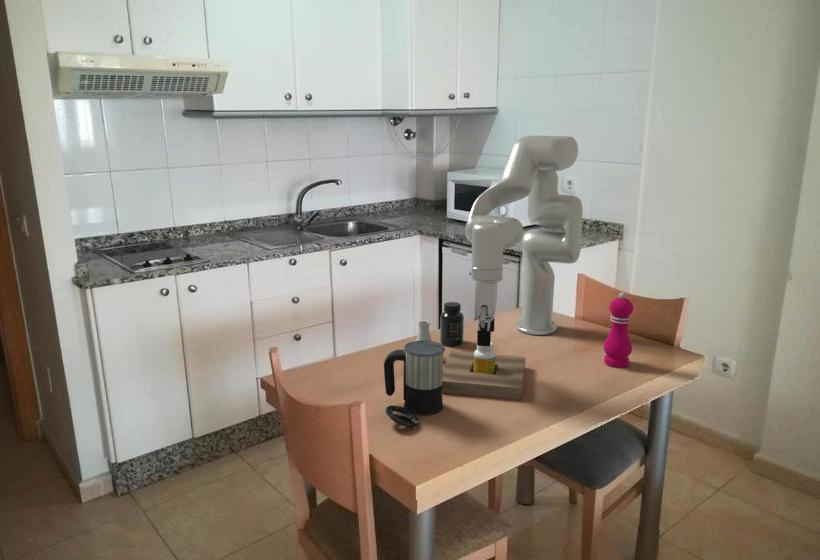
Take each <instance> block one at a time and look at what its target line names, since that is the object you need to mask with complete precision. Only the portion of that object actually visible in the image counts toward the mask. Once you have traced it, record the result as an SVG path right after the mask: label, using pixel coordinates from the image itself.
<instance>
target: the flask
mask: <svg viewBox="0 0 820 560" xmlns="http://www.w3.org/2000/svg"><path fill="white" fill-rule="evenodd" d="M430 324H431V322H430V321H428V320H421V321H418V322H417V325H418V332H417V337H416V340H415V341H420V340H421V341H423V340H425V341H433V340H432V337H431V334H430Z"/></svg>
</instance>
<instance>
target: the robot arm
mask: <svg viewBox="0 0 820 560" xmlns="http://www.w3.org/2000/svg"><path fill="white" fill-rule="evenodd" d="M578 147H579V146H578V142H577V140H576V139H575V138H574V137H573V136H569V135H568V136H567V135H525V136H522V137H520V138H519V139H518V140H516V141H515V142H514V143H513V145H512V147H511V149H510V151H509V154H508V157H507V160H506V163H505V166H504V168H503V171H502V173H501V176H500V178H499V180H498V181H496V183H494V184H492V185H491V186H490V187H488V188H487V189H486V190H484V191H483V192H482V193H481V194H479V195H478V197H477V198H476V199H475V201H474V202H473V204H472V206H471V209H470V212H469V214H468V216H467V220H466V223H465V228H464V229H465V236H466V239H467V240H468V242H470V243H471V280H472V281H474V291H473V292H474V293H473V295H474V296H473V317H472V318H473V321H475V322H476V321H478V322H477V323H478V324H477V326H478V327H477V330H476V331H477V332H476V333H477V334H476V335H477V336H476V337H477V338H476V339H477V340H476V341H477V342H476V346H477V345H478V346H490V344H491V342H492V341H491V339H492V338H491V336H492V335H491V334H492V333H494V331H495V316H496V315H495V314H496V311H497V302H498V283H499V282H501V281H503V272H504V271H503V270H504V265H503V263H504V262H503V260H504V250H505V249H509V248H514V247H516V246H517V245H518V244H519V243H520V242H521V253H522V263H523V264H522V265H523V266H522V267H523V269H522V274H523V275H522V291H521V293H522V294H521V296H522V297H521V314H520V316H521V319H520V320H519V321H517V322H516V323H515V328H516V330H517V331H519V332H521V333H523V334H528V335H532V336H533V335H534V336H544V335H545V336H547V335H550V334H554V333H555V332H556V331H557V329H558V328H557V327H558V326H557V324H556V323H554V322H553V313H554V312H553V311H554V310H553V309H554V296H555V295H554V293H555V281H556V279H555V278H556V277H555V272H554V270H553V268H552V266H551V264H550V263H558V264H569V265H571V264H574V263H576V262H577V261H578V260H579V258H580V255H581V248H582V234H583V233H582V231H583V217H584V216H583V215H584V213H583V212H584V211H583V209H584V208H583V203H582V200H581V199H580V198H579V197H578V196H576V195H573V194H559V190H558V189H559V187H558V186H559V178H558V177H559V176H558V174H557V172H560V171H563V170H567V169H569V168H571V167H572V166H573V165H574V164H575V163H576V161H577V158H578V154H579V148H578ZM526 197H527V217H528V220H529V222H530V223H531V224H533V225H538V226H545V227H555V228H556V227H558V228H562V229H563V230H555V229H554V230H553V229H545V228H543V229H542V228H534V229H532V228H531V229H529V230H527V231H526V232H525V233H524V225H523V223H522V222H521V221H520V220H519V219H518V218H514V217H510V216H501V215H499V216H497V215H489V214H490V213H491V212H492V211H494V210H496V209H497V208H500V207H502V206H505V205H509V204H512V203H515V202H518V201H520V200H523V199H524V198H526Z"/></svg>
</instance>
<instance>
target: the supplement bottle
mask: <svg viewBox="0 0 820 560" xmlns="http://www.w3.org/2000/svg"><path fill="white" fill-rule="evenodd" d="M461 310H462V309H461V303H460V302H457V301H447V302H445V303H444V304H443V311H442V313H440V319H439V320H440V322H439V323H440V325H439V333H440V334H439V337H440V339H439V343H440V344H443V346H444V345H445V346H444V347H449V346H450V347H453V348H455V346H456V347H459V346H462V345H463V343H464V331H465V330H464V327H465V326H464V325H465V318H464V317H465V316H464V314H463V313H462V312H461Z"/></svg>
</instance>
